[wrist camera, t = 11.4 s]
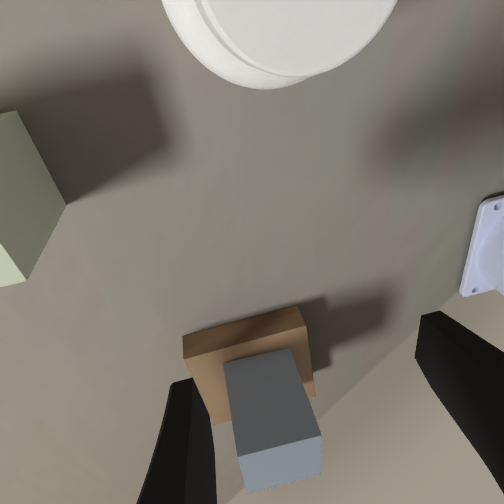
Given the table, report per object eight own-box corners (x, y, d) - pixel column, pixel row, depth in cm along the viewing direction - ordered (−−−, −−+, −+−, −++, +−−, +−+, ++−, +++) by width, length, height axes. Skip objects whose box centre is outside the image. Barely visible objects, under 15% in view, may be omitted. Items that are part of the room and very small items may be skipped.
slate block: (289, 347, 24) (321, 435, 19) (292, 388, 26) (320, 474, 21) (222, 363, 23) (237, 456, 18) (231, 402, 26) (247, 494, 21)
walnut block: (294, 299, 25) (306, 325, 23) (305, 368, 29) (315, 395, 27) (182, 330, 24) (183, 359, 22) (211, 395, 29) (214, 425, 27)
